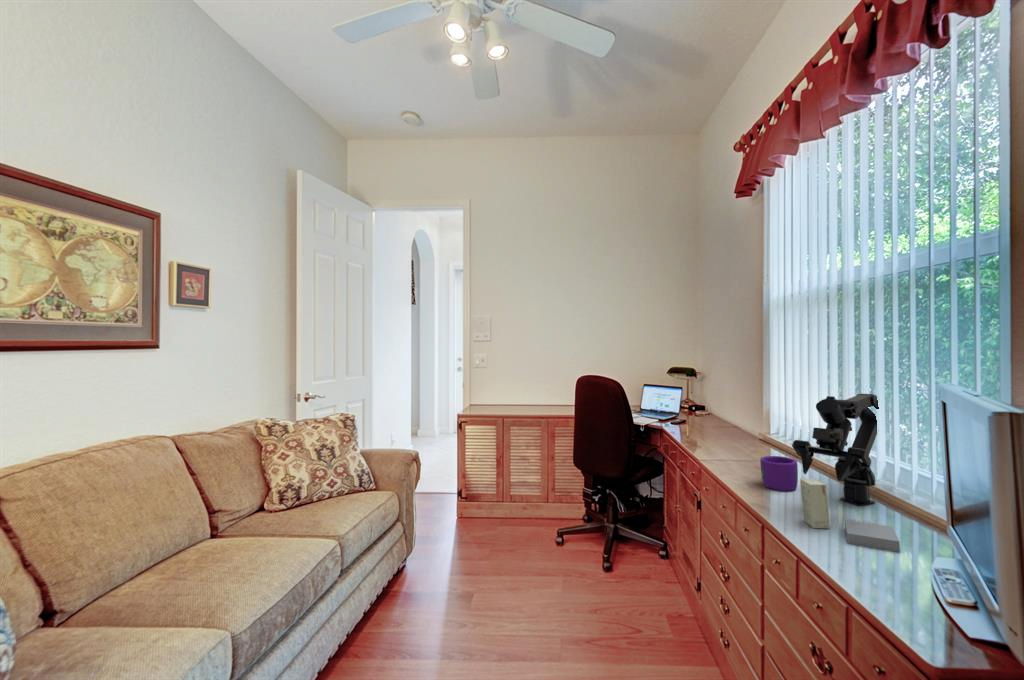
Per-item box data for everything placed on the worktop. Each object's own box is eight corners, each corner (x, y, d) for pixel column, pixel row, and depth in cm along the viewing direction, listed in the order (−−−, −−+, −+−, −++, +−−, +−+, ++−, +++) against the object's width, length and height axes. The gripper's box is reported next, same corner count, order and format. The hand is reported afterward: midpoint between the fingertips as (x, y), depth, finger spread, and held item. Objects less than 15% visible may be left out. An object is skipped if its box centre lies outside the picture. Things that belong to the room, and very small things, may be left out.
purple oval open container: (800, 494, 146) (799, 464, 147) (762, 490, 152) (760, 462, 152) (795, 479, 162) (793, 453, 162) (760, 476, 167) (758, 451, 167)
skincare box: (830, 529, 119) (827, 485, 119) (813, 528, 119) (810, 484, 120) (818, 520, 125) (816, 478, 125) (802, 519, 126) (799, 477, 126)
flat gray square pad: (845, 530, 118) (844, 519, 118) (893, 537, 113) (892, 526, 113) (848, 545, 110) (847, 533, 110) (900, 553, 105) (899, 541, 105)
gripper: (792, 414, 137) (776, 454, 130) (864, 420, 121) (849, 467, 115) (806, 435, 140) (791, 475, 134) (877, 444, 125) (864, 490, 118)
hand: (821, 476), depth 125 cm, fingers open, 9 cm apart
